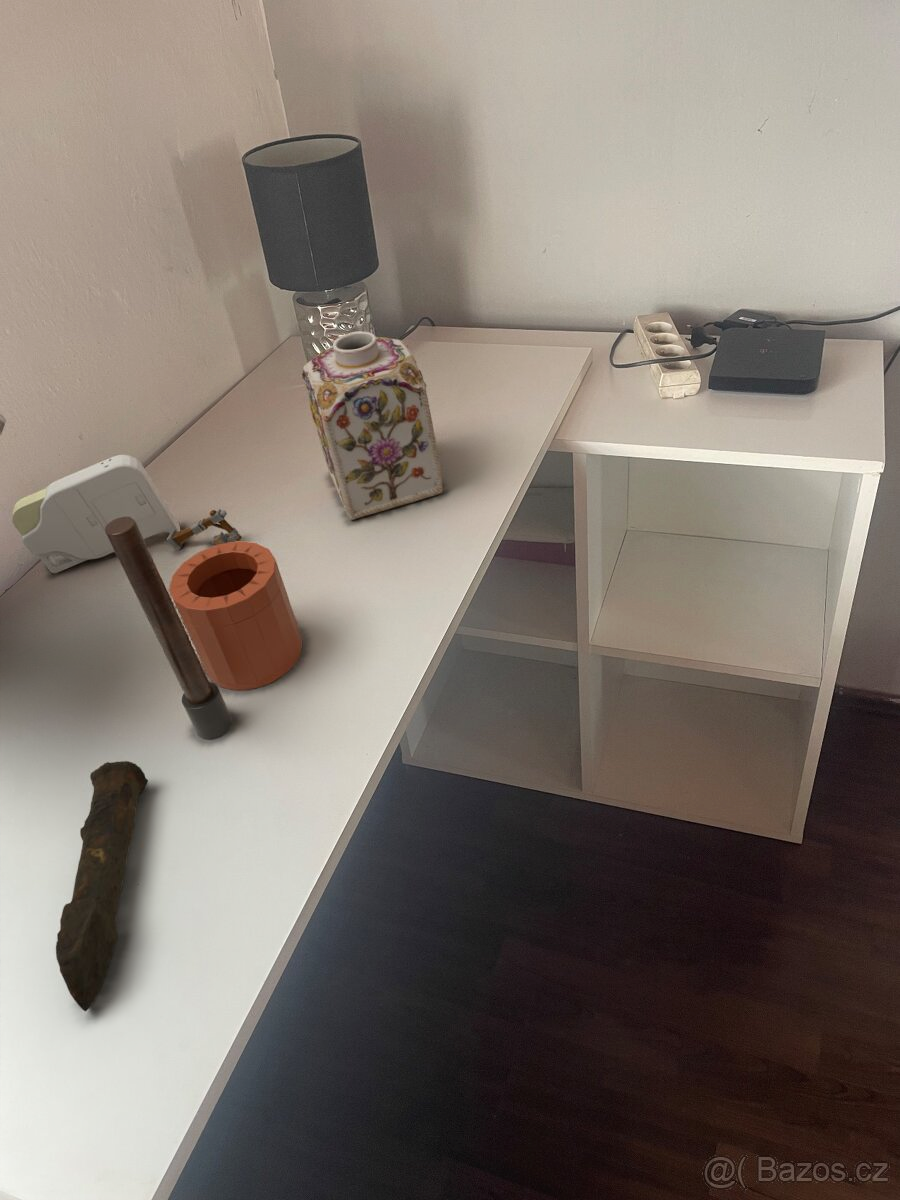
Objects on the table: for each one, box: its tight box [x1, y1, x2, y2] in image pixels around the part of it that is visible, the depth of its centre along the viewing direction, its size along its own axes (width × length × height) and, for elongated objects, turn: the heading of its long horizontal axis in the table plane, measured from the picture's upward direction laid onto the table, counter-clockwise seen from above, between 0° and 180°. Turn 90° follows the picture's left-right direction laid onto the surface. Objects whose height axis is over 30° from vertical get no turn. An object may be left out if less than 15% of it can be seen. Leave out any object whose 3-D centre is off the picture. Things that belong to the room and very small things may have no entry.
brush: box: [105, 517, 233, 740], centre depth 69 cm, size 3×3×22 cm
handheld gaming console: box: [11, 454, 181, 574], centre depth 96 cm, size 11×3×15 cm
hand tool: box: [55, 760, 149, 1012], centre depth 64 cm, size 19×4×5 cm, turn 6°
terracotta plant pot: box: [168, 540, 303, 691], centre depth 80 cm, size 9×9×10 cm
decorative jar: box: [301, 331, 443, 521], centre depth 97 cm, size 12×12×18 cm
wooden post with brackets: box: [166, 508, 243, 551], centre depth 97 cm, size 2×8×4 cm, turn 84°
